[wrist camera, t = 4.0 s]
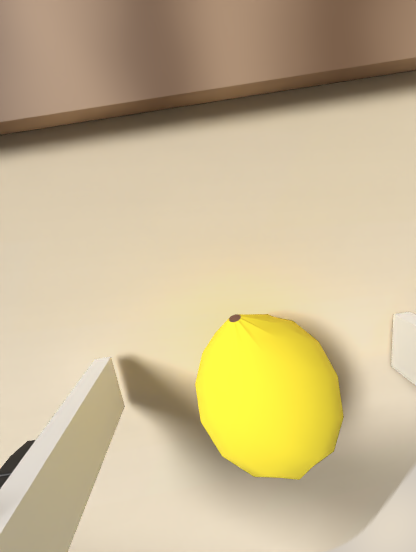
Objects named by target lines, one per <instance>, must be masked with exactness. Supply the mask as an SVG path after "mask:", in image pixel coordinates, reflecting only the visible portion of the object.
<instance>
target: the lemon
mask: <svg viewBox="0 0 416 552" xmlns="http://www.w3.org/2000/svg"><path fill="white" fill-rule="evenodd" d="M195 386H196V393H197V399H198V406H199V413H200V420H201V423H202V424H203V426H204V428H205V429H206V431H207V433H208V434H209V436H210V437H211V439H212V441H213V442H214V444H215V445H216V447H217V449H218V450H219V452H220V454H221V455H222V456H223V457H224V458H226V459H227V460H229V461H230V462H232V463H233V464H235V465H237V466H238V467H240V468H241V469H243V470H244V471H246V472H247V473H249V474H251V475H252V476H254V477H273V478H287V479H298V480H299V479H301V478H302V477H303V476H304V475H305V474H306V473H307V472H308V471H309V470H310V469H311V468H312V467H313V466H314V465H316V464H317V463H319V462H320V461H321V460H323V459H324V458H325V457H327V456H328V455H330V454H331V453H332V452H334V449H335V446H336V442H337V439H338V435H339V431H340V428H341V424H342V421H343V417H344V416H343V409H342V403H341V396H340V389H339V382H338V376H337V374H336V372H335V370H334V369H333V367H332V365H331V363H330V361H329V360H328V358H327V356H326V354H325V352H324V351H323V349H322V347H321V345H320V343H319V342H318V341H317V340H316V339H315V338H313V337H312V336H311V335H310V334H308V333H307V332H306V331H305V330H303V329H302V328H301V327H300V326H298V325H297V324H296V323H295V322H293V321H290V320H286V319H281V318H276V317H273V316H270V315H268V314H253V315H233V316H231V317H230V318H229V319H228V320H227V321H226V322H225V323H224V324H223V325H222V326H221V328H220V329H219V330H218V331H217V332H216V333H215V334H214V336H213V338H212V339H211V341H210V342H209V344H208V345H207V347H206V348H205V350H204V351H203V353H202V357H201V362H200V366H199V370H198V375H197V379H196V383H195Z"/></svg>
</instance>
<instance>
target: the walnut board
mask: <svg viewBox="0 0 416 552" xmlns="http://www.w3.org/2000/svg"><path fill="white" fill-rule="evenodd" d="M413 70H416V0H0V135H1V134H8V133H14V132H21V131H27V130H34V129H40V128H46V127H53V126H59V125H66V124H72V123H79V122H85V121H91V120H98V119H104V118H111V117H117V116H124V115H130V114H136V113H143V112H149V111H156V110H162V109H169V108H175V107H181V106H188V105H194V104H201V103H207V102H213V101H220V100H226V99H233V98H239V97H246V96H252V95H258V94H265V93H271V92H278V91H284V90H291V89H297V88H303V87H310V86H316V85H323V84H329V83H336V82H342V81H348V80H355V79H361V78H368V77H374V76H381V75H387V74H393V73H400V72H406V71H413Z"/></svg>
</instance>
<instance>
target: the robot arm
mask: <svg viewBox="0 0 416 552" xmlns="http://www.w3.org/2000/svg"><path fill="white" fill-rule="evenodd" d="M391 367H393V368H394V369H395V370H396V371H398V372H399V373H400V374H401V375H403V376H404V377H405V378H406V379H408V380H409V381H410V382H411V383H413V384H414V385H415V386H416V314H414V313H412V312H405V313H399V314H394V315H393V338H392V361H391ZM124 407H125V406H124V402H123V398H122V395H121V391H120V388H119V384H118V380H117V377H116V373H115V370H114V366H113V363H112V359H111V357H106V358H99V359H94V361H93V362H92V363H91V365H90V366H89V367H88V369H87V370H86V372H85V373H84V374H83V376H82V377H81V379H80V380H79V381H78V383H77V384H76V385H75V387H74V388H73V390H72V391H71V392H70V394H69V395H68V396H67V398H66V399H65V401H64V402H63V403H62V405H61V406H60V407H59V409H58V410H57V412H56V413H55V414H54V416H53V417H52V418H51V420H50V421H49V423H48V424H47V425H46V427H45V428H44V429H43V431H42V432H41V434H40V435H39V436H38V438H37V439H36V440H32V441H27V442H26V443H25V444H24V445H23V446H22V447H20V448H19V449H18V450H17V451H16V452H15V453H14V454H13V455H11V456H10V457H9V459H8V460H7V461H6V463H5V464H4V465H3V466H2V468H1V469H0V552H68V549H69V547H70V544H71V542H72V539H73V537H74V534H75V532H76V529H77V527H78V524H79V521H80V519H81V516H82V514H83V511H84V509H85V506H86V504H87V501H88V498H89V496H90V493H91V491H92V488H93V486H94V483H95V481H96V478H97V476H98V473H99V470H100V468H101V465H102V463H103V460H104V458H105V455H106V453H107V450H108V447H109V445H110V442H111V440H112V437H113V435H114V432H115V430H116V427H117V425H118V422H119V419H120V417H121V414H122V412H123V409H124Z"/></svg>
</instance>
